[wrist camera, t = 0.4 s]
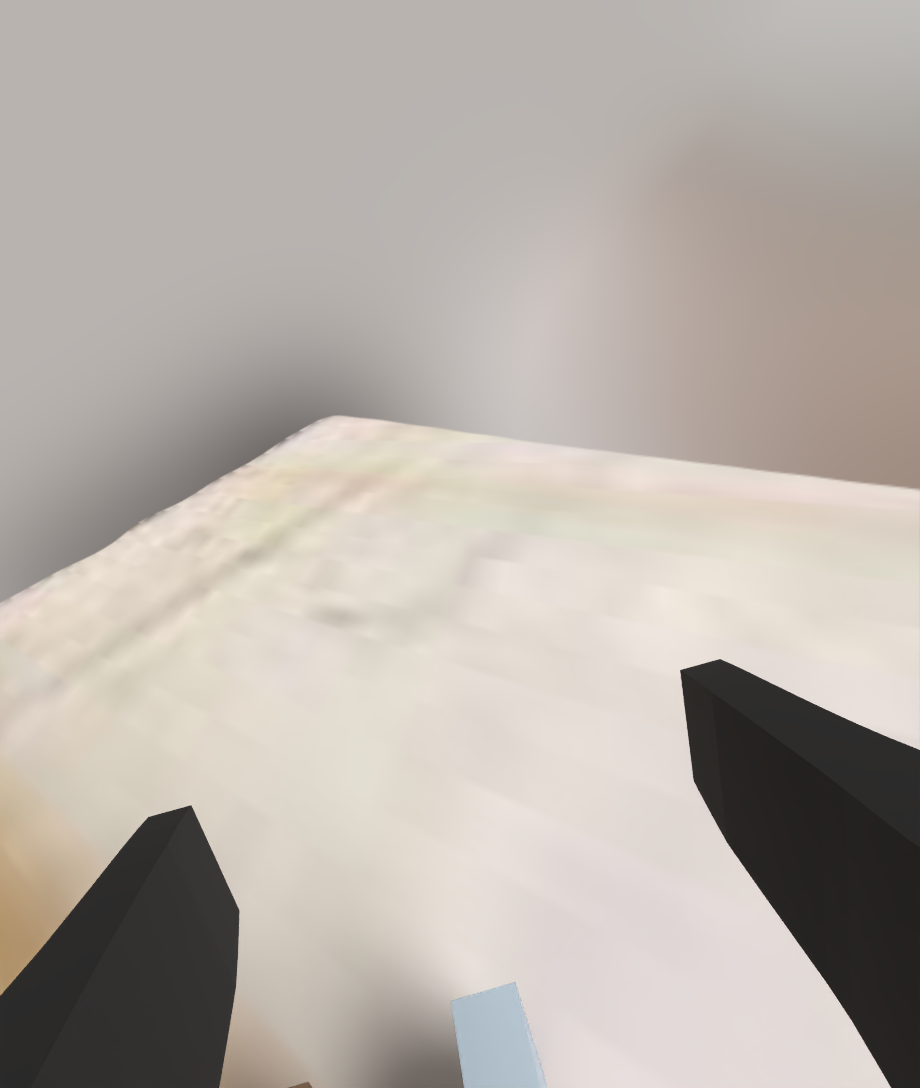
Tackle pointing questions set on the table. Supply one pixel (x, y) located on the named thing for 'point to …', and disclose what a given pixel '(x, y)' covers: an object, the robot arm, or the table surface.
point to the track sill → (302, 1085)
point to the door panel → (496, 1041)
